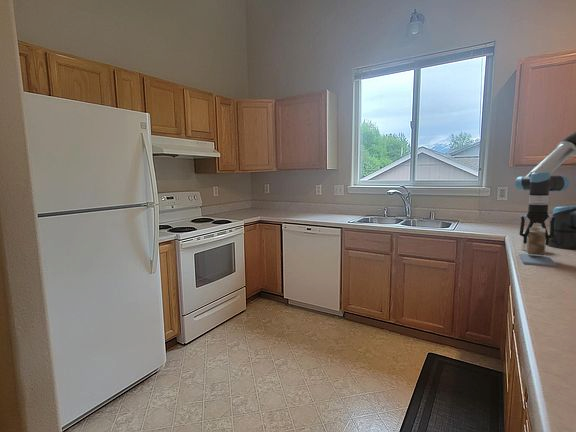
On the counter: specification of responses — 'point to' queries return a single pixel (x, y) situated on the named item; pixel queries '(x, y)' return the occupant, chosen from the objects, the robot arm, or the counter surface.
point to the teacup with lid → (523, 244)
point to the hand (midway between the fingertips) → (535, 250)
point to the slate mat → (537, 260)
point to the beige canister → (536, 240)
